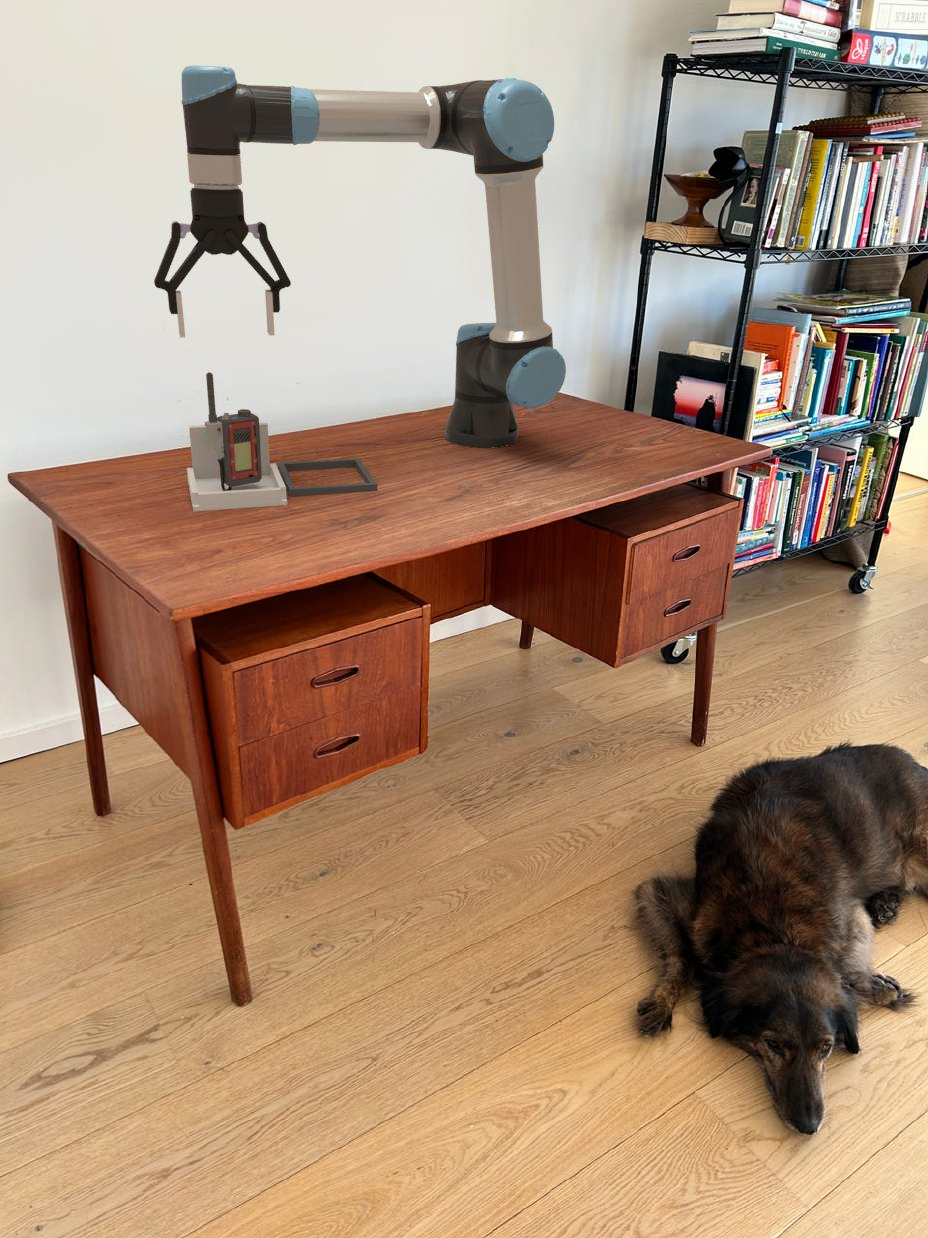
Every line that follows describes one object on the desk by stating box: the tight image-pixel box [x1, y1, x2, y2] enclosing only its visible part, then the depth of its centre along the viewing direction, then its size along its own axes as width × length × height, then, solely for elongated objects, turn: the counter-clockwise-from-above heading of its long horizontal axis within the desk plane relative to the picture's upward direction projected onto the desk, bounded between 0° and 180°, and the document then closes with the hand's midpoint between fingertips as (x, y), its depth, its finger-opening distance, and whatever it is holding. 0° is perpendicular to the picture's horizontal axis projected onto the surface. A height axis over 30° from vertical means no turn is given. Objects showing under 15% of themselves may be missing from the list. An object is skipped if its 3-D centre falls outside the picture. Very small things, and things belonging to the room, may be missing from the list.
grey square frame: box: [277, 457, 378, 497], centre depth 171 cm, size 15×15×2 cm
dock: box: [186, 422, 288, 513], centre depth 161 cm, size 15×15×10 cm
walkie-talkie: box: [204, 371, 262, 491], centre depth 158 cm, size 9×4×20 cm, turn 127°
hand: (227, 334), depth 151 cm, fingers open, 13 cm apart
